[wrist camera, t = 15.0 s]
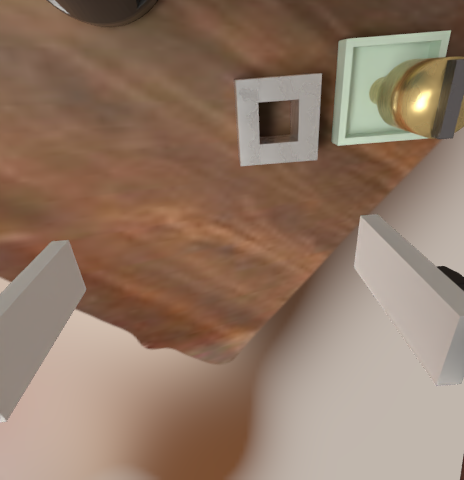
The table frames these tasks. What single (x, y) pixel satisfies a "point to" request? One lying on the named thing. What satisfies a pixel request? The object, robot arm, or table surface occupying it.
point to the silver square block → (301, 124)
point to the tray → (366, 73)
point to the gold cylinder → (423, 96)
